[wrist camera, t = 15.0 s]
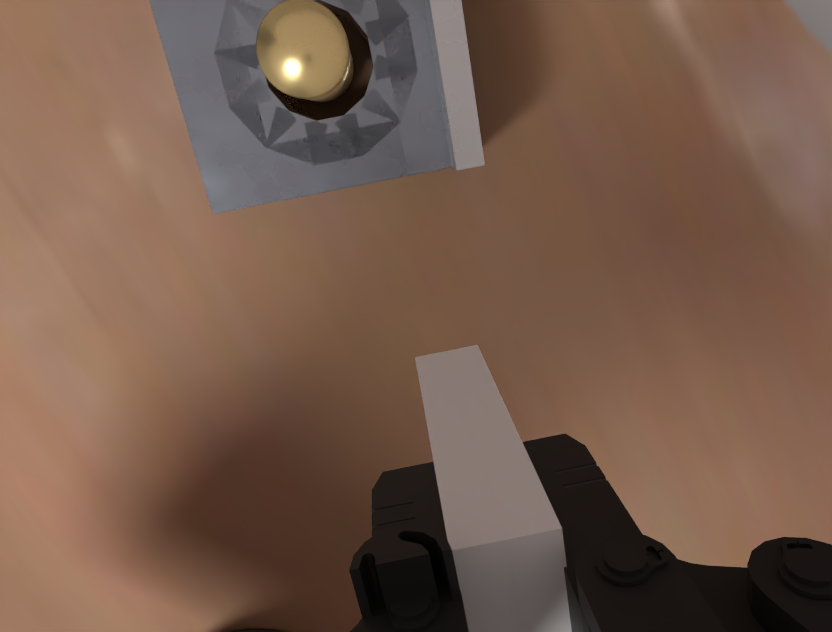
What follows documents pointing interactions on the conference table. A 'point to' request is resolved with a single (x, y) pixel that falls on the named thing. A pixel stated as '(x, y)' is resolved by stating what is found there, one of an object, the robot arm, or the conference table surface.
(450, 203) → the conference table surface
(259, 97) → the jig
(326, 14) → the cylinder
